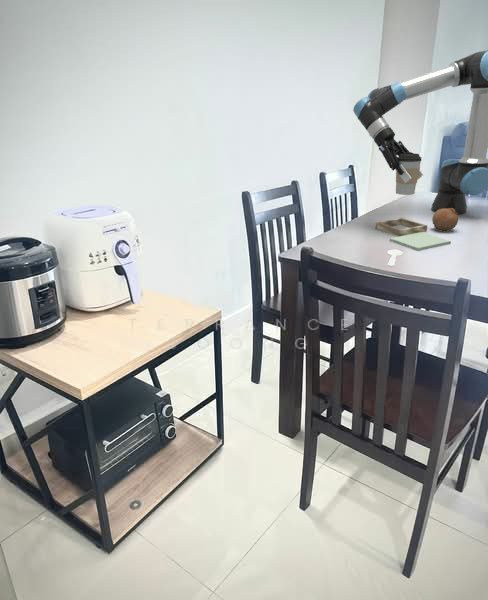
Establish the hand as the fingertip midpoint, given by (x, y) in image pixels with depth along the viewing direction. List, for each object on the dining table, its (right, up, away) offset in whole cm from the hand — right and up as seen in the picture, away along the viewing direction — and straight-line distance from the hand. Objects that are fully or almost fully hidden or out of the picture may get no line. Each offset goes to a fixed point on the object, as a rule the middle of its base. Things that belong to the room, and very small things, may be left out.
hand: (414, 178), depth 168 cm
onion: (+15, -18, +9) cm, 25 cm away
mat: (0, -25, -5) cm, 25 cm away
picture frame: (-2, -18, +11) cm, 21 cm away
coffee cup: (-2, -5, +5) cm, 7 cm away
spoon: (-15, -32, -19) cm, 40 cm away
